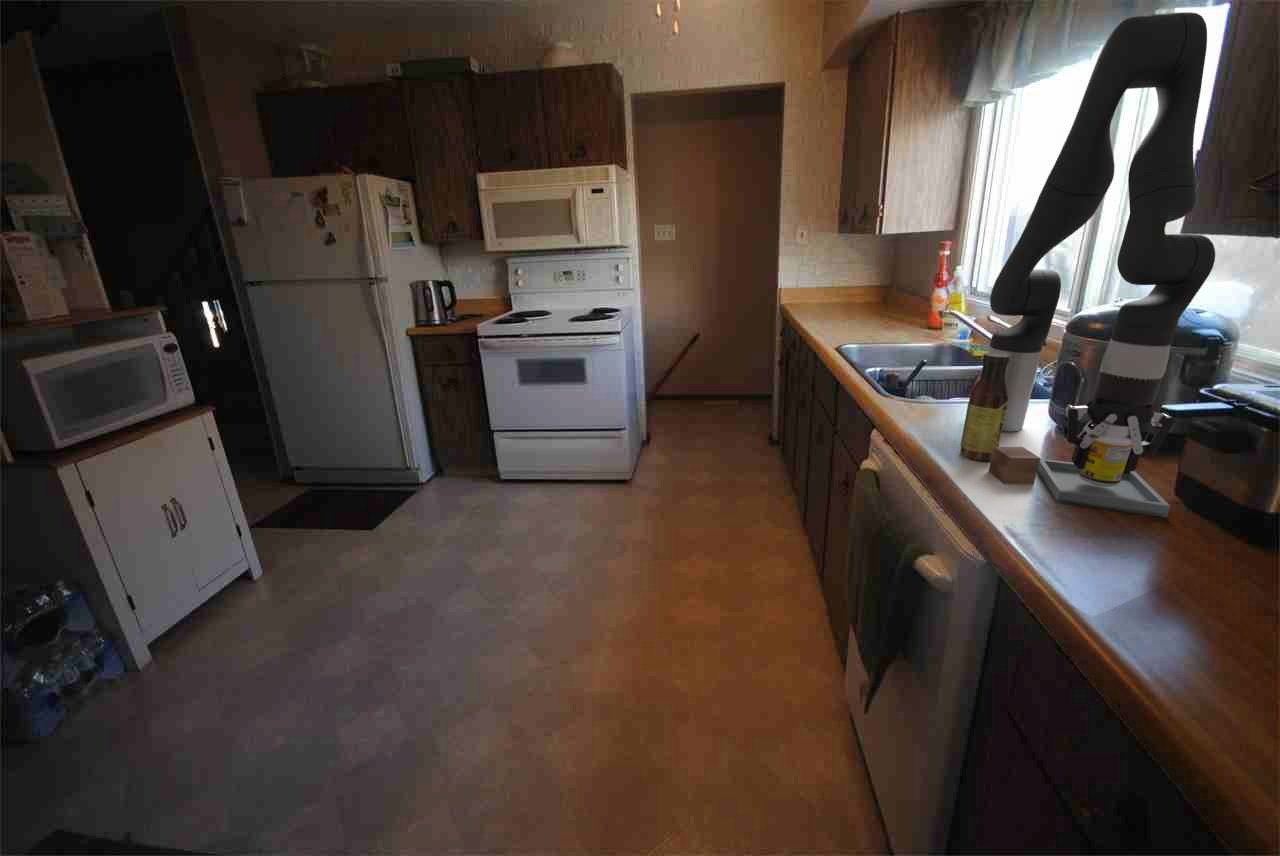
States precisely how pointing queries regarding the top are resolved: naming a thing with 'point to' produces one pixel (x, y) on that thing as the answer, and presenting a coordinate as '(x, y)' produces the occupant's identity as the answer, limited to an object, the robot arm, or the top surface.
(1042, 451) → the top surface
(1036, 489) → the top surface
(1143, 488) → the tray
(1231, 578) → the top surface
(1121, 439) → the supplement bottle
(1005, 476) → the walnut block
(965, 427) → the sauce bottle
